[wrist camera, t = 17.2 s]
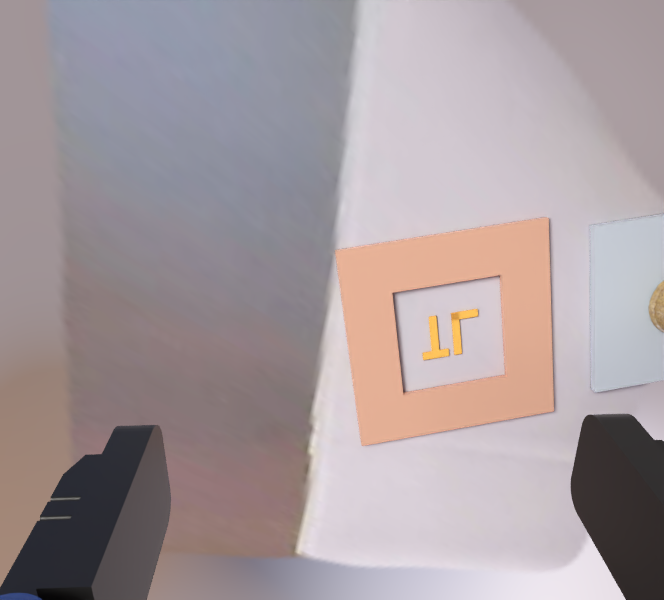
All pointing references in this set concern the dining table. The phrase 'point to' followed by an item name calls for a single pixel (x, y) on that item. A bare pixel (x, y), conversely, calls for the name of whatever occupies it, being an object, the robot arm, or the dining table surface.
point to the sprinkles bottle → (657, 307)
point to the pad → (625, 302)
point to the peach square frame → (443, 268)
